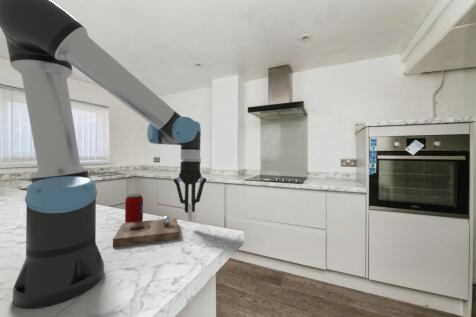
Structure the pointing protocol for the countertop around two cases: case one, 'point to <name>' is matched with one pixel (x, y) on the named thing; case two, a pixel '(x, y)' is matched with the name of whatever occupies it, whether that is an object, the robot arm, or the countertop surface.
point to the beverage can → (134, 208)
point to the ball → (166, 220)
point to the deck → (145, 232)
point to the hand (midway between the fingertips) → (189, 220)
